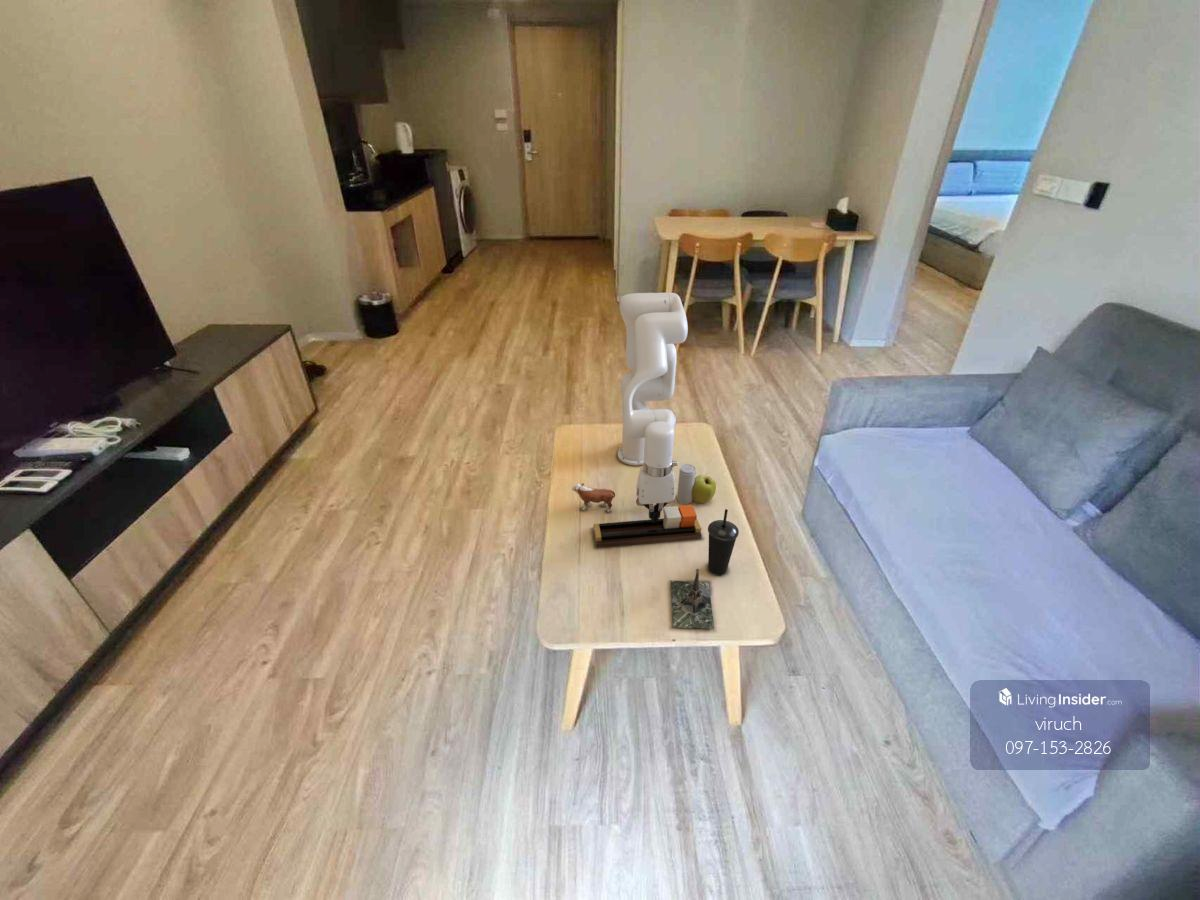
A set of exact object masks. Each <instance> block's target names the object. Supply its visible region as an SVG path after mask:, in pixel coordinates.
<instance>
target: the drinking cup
mask: <svg viewBox="0 0 1200 900" xmlns="http://www.w3.org/2000/svg"><path fill="white" fill-rule="evenodd" d="M728 510H729V509H727V508H725V509H724V513H723V519H717V520H713V521H712V522H710V523H709V524H708V526H707V532H708V557H707V558H708V560H707V563H708V565H707V567H708V568H707V569H708V571H709V572H710V573H711V574H713V575H715V576H723V575H725V574H726V573H727V571H728V567H729V564H730V560H731V558H732V557H731V556H732V554H733V551H734V547H735V545H736V540H737V538H738V537H739V534H740V531H739V527H737V525H736V524H735V523H733V522H731V521H729V520H727V518H728V517H727V516H728V512H729V511H728Z"/></svg>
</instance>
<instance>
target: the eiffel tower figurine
mask: <svg viewBox="0 0 1200 900" xmlns="http://www.w3.org/2000/svg"><path fill="white" fill-rule="evenodd" d="M699 572H700V568H696V570H695V577H694V581H687V580H672V579H671V580H670V582H669V583H670V600H671V625H672V627H671V628H681V629H682V628H685V629H686V628H688V629H715V622H714V613H713V607H712V606H713V605H712V598H711V590H710V589H711V588H710V583H709V582H702V581H700V582H699V575H700V574H699Z"/></svg>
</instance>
